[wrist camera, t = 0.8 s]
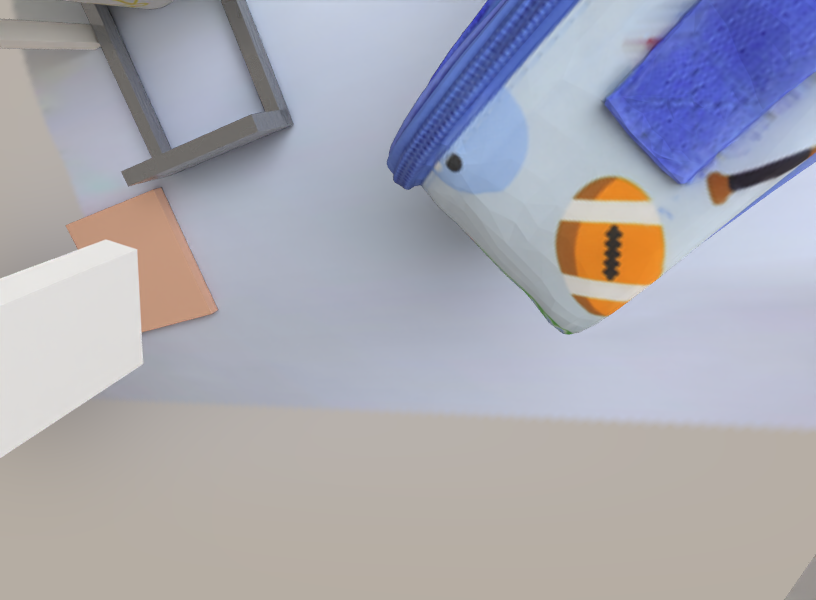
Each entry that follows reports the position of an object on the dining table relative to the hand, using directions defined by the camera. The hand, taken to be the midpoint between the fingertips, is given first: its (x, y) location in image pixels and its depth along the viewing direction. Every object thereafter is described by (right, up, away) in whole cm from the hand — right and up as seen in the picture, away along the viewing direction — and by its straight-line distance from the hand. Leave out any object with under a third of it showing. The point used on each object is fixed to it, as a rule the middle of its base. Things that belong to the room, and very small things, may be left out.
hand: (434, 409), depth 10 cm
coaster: (-21, +5, +35) cm, 42 cm away
